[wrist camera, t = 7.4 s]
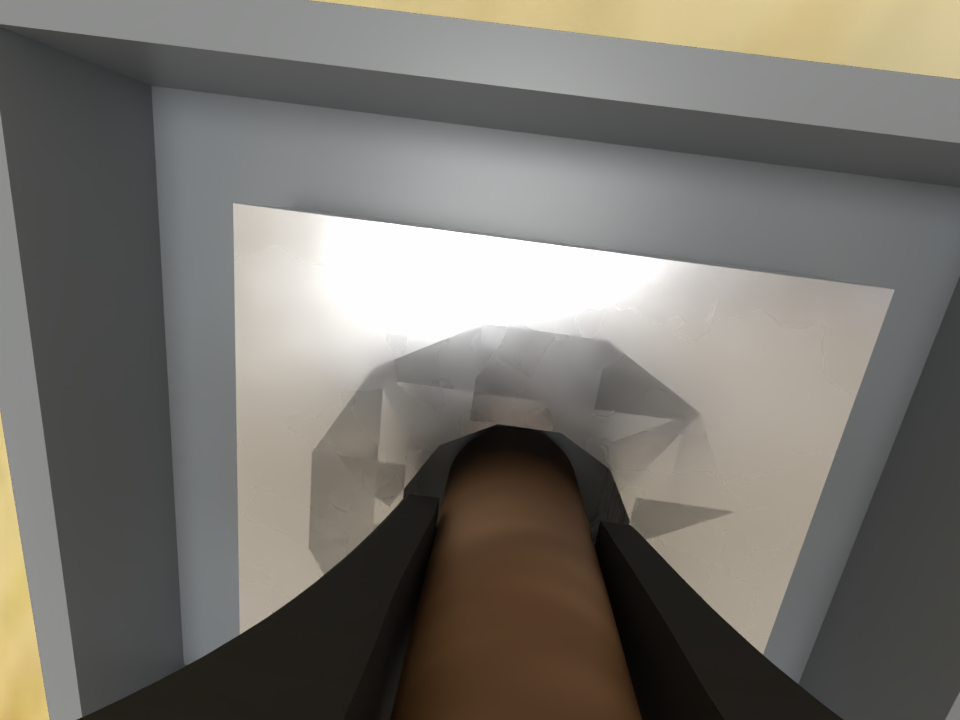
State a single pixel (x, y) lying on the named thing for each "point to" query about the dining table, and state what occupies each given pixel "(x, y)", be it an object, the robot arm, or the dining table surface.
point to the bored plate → (534, 391)
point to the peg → (514, 597)
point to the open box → (458, 205)
